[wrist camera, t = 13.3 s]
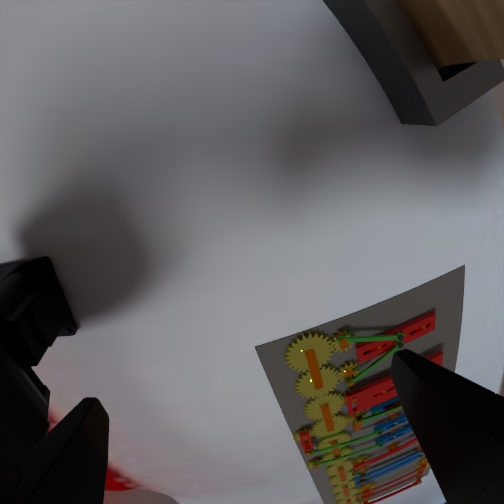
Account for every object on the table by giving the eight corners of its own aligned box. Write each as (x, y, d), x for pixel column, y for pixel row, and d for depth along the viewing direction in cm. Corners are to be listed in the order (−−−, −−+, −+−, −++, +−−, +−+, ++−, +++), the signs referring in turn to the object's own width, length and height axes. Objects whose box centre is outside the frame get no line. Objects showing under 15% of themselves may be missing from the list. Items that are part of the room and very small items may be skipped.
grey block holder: (401, 123, 19) (436, 126, 15) (315, -9, 15) (336, -34, 11) (472, 79, 17) (507, 77, 14) (402, -37, 14) (430, -56, 10)
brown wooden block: (409, 72, 17) (567, 57, 5) (371, 10, 15) (508, -58, 3) (436, 58, 17) (583, 44, 5) (400, 0, 15) (533, -56, 3)
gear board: (257, 363, 22) (477, 273, 22) (253, 342, 24) (460, 262, 24) (331, 522, 39) (431, 481, 39) (328, 511, 41) (426, 471, 41)
